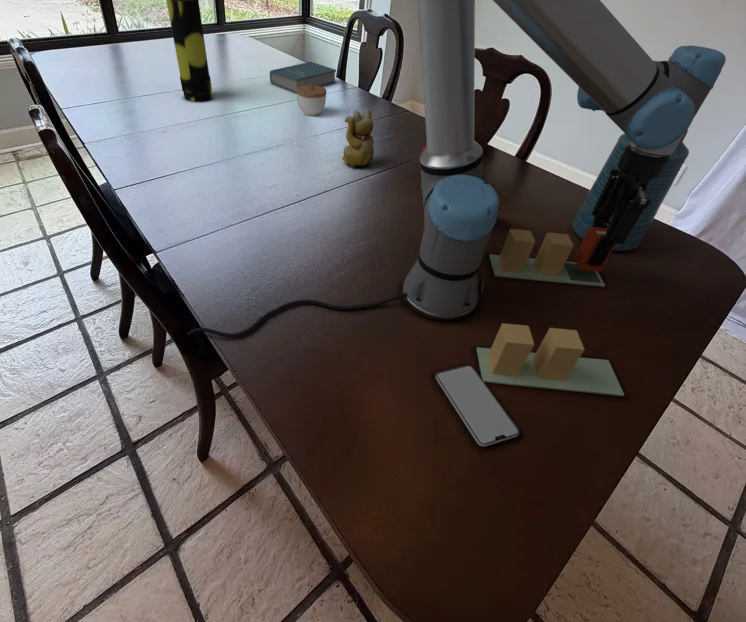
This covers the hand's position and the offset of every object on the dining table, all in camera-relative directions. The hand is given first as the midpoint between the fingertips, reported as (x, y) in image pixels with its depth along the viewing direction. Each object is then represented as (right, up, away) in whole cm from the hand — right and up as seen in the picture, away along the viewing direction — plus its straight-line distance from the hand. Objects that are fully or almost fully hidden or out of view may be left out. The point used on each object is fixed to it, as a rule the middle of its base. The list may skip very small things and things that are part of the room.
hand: (590, 257), depth 96 cm
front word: (-18, -24, -18) cm, 35 cm away
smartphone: (-33, -29, -24) cm, 50 cm away
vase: (+12, +8, +16) cm, 22 cm away
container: (-109, +74, +71) cm, 150 cm away
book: (-70, +91, +90) cm, 146 cm away
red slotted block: (0, -1, +1) cm, 2 cm away
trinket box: (-65, +66, +66) cm, 114 cm away
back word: (-8, -2, +3) cm, 9 cm away
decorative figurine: (-49, +35, +37) cm, 71 cm away
